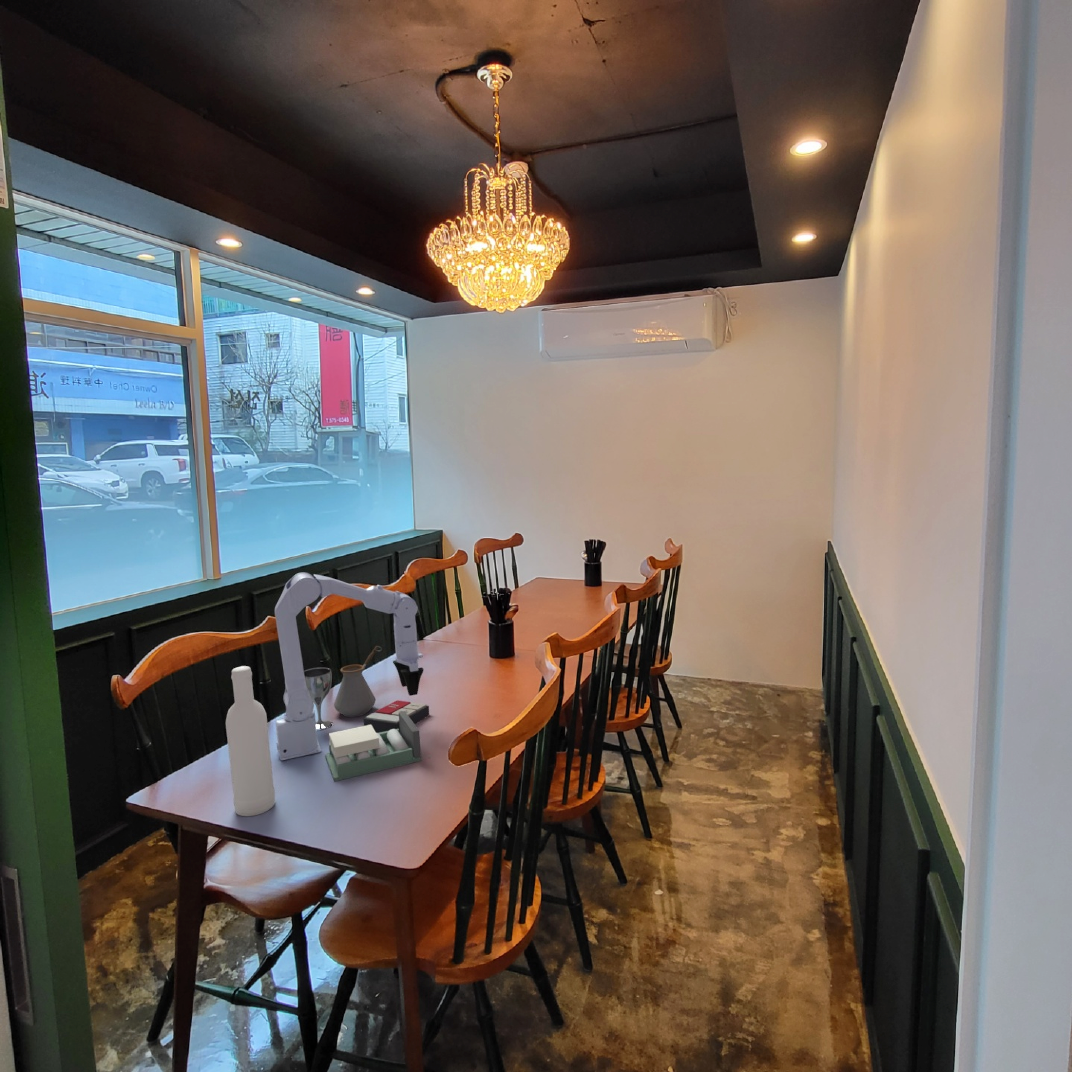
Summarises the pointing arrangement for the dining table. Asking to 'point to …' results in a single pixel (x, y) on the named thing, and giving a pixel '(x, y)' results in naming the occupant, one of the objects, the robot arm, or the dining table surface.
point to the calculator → (396, 715)
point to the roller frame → (380, 752)
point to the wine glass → (319, 690)
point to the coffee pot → (355, 691)
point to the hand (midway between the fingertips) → (409, 690)
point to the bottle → (249, 748)
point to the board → (354, 740)
